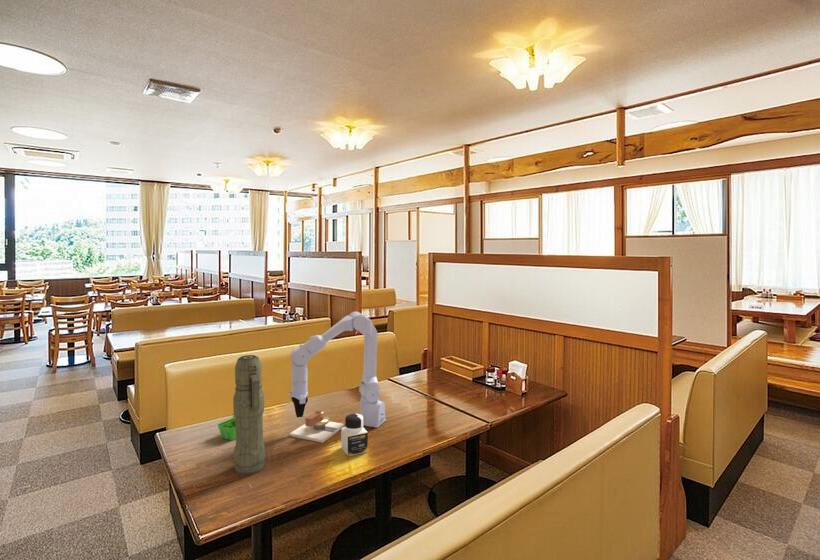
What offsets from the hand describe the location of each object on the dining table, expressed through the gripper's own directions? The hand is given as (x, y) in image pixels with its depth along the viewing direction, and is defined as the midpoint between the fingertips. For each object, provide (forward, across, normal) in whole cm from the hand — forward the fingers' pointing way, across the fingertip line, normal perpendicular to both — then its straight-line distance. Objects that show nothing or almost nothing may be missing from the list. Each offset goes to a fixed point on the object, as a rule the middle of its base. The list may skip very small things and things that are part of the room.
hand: (299, 416), depth 158 cm
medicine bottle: (+6, +21, +15) cm, 27 cm away
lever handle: (+3, +2, +6) cm, 7 cm away
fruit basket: (+6, -6, -21) cm, 23 cm away
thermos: (+6, +20, -18) cm, 28 cm away
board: (+6, +1, +6) cm, 9 cm away
